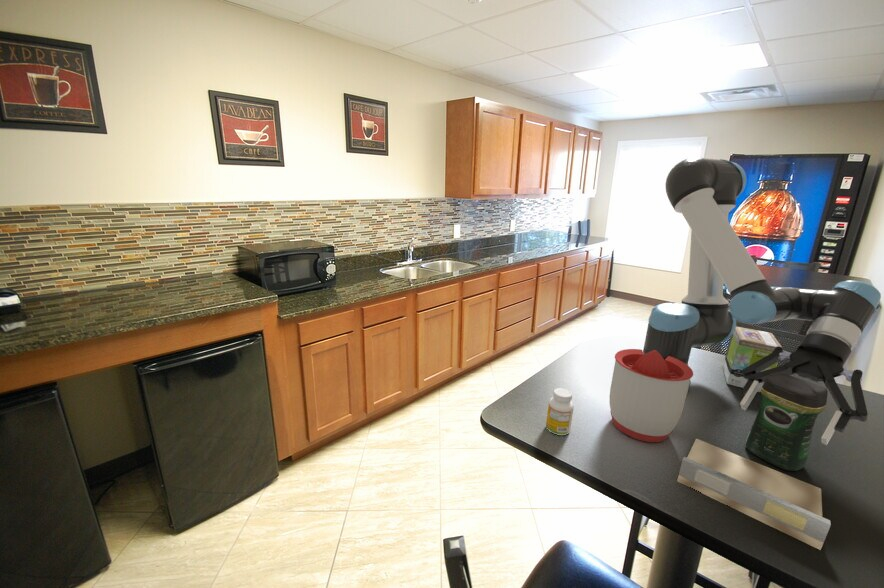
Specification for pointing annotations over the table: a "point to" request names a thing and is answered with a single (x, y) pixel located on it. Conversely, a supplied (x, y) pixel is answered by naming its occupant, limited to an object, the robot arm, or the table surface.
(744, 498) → the rail
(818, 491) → the shelf board
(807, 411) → the coffee jar
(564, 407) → the supplement bottle
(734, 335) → the tea box
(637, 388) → the citrus juicer
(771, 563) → the table surface
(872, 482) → the table surface
